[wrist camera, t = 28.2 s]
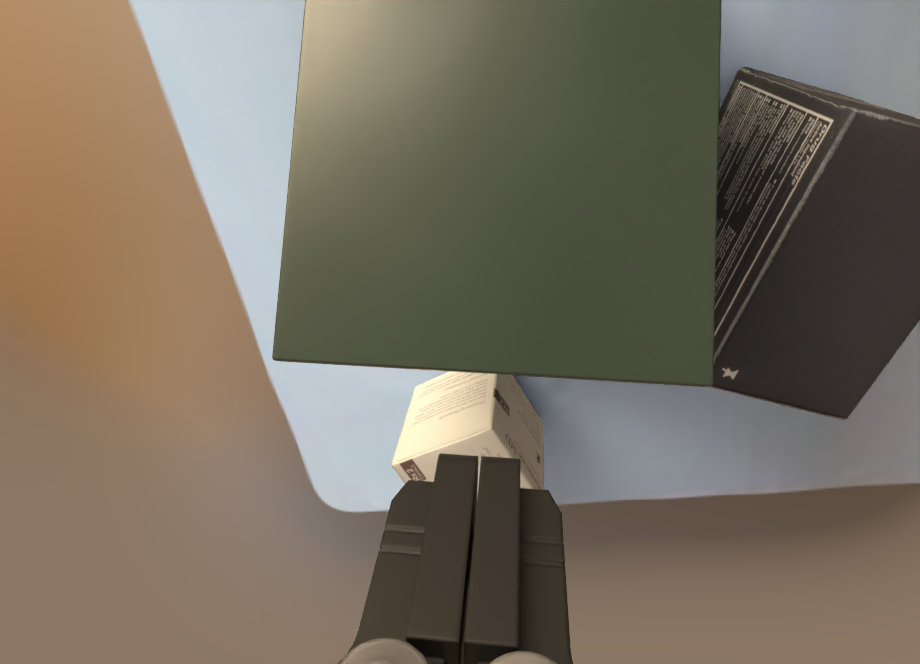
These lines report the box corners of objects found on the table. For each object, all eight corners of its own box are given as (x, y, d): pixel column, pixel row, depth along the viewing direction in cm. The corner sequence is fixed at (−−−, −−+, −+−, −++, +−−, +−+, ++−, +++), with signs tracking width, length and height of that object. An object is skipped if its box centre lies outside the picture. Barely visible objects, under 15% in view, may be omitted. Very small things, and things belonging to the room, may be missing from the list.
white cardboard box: (545, 420, 37) (549, 510, 31) (460, 452, 39) (448, 543, 33) (498, 346, 35) (492, 427, 29) (410, 384, 37) (387, 468, 31)
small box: (759, 304, 32) (851, 431, 23) (643, 273, 32) (690, 389, 23) (876, 101, 27) (1057, 163, 18) (737, 62, 26) (848, 104, 17)
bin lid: (705, 387, 15) (713, 386, 15) (279, 361, 16) (270, 360, 16) (716, -65, 17) (724, -82, 16) (318, -67, 17) (312, -83, 17)
